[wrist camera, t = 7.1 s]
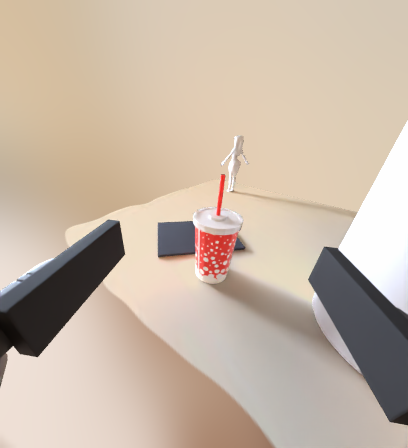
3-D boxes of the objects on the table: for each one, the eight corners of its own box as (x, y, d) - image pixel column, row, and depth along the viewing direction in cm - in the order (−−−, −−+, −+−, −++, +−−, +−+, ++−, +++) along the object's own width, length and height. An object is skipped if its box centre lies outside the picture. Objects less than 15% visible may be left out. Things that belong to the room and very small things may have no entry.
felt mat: (244, 249, 31) (245, 247, 30) (158, 257, 27) (158, 255, 27) (224, 221, 40) (224, 219, 40) (157, 224, 36) (157, 222, 36)
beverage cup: (241, 277, 24) (264, 179, 18) (206, 295, 21) (219, 184, 15) (214, 254, 29) (225, 168, 22) (182, 266, 26) (184, 170, 19)
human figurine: (239, 188, 66) (248, 136, 58) (246, 191, 63) (256, 136, 55) (214, 191, 60) (220, 133, 51) (221, 195, 57) (228, 134, 49)
